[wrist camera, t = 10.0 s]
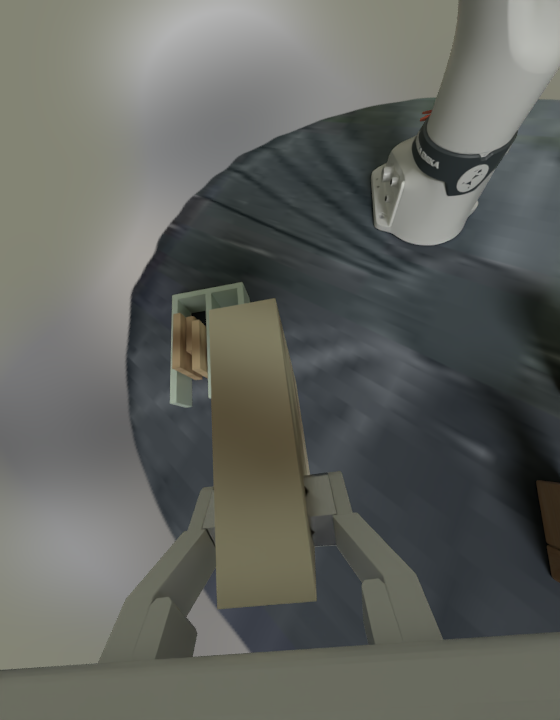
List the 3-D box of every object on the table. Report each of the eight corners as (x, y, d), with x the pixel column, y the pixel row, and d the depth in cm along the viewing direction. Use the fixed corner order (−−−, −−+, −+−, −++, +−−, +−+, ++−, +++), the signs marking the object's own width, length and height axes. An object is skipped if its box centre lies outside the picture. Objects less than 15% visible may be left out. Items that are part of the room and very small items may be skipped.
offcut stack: (195, 333, 44) (173, 314, 37) (215, 330, 44) (197, 309, 37) (195, 383, 41) (172, 371, 34) (217, 379, 41) (198, 367, 34)
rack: (186, 309, 46) (172, 295, 42) (249, 298, 45) (242, 281, 41) (186, 407, 40) (169, 403, 35) (259, 396, 39) (252, 390, 34)
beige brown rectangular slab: (268, 386, 22) (208, 310, 9) (295, 382, 22) (275, 298, 9) (280, 493, 19) (217, 609, 6) (312, 490, 19) (316, 601, 6)
